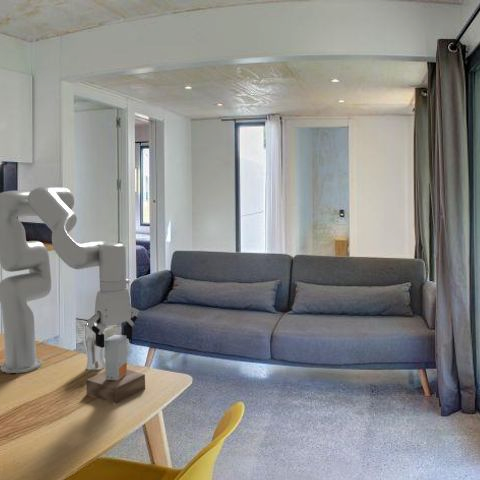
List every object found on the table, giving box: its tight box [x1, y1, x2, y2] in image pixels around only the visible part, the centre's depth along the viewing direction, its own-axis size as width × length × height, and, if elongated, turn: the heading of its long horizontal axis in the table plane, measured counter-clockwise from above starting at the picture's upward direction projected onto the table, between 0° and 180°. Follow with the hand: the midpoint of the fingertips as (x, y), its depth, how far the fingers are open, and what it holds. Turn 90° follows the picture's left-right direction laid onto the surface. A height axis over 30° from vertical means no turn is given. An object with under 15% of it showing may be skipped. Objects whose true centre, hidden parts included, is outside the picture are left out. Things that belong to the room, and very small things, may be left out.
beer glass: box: [83, 322, 106, 372], centre depth 163 cm, size 7×7×15 cm
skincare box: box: [104, 334, 128, 381], centre depth 143 cm, size 6×4×12 cm
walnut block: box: [85, 369, 146, 405], centre depth 144 cm, size 12×12×5 cm
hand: (114, 342), depth 143 cm, fingers open, 9 cm apart
